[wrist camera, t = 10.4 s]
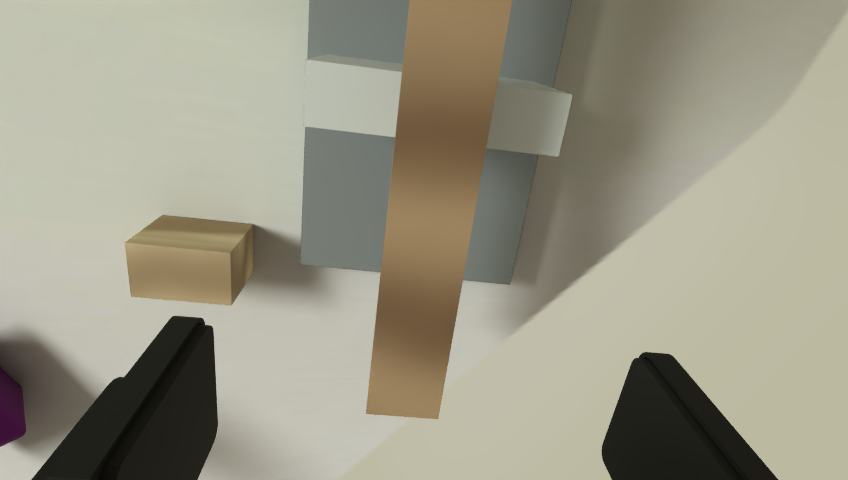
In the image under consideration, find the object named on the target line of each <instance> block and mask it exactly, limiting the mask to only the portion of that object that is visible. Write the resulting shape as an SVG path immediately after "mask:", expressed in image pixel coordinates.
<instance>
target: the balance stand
mask: <svg viewBox="0 0 848 480" xmlns="http://www.w3.org/2000/svg"><path fill="white" fill-rule="evenodd" d="M409 1H410V0H310V2H309V31H308V59H306V67H305V97H304V126H305V147H304V176H303V205H302V234H301V262H300V264H301V265H311V266H322V267H332V268H342V269H353V270H363V271H374V272H381V266H382V256H383V247H384V237H385V228H386V219H387V209H388V200H389V190H390V181H391V171H392V162H393V152H394V143H395V134H396V124H397V115H398V105H399V96H400V86H401V77H402V67H403V58H404V49H405V39H406V30H407V20H408V11H409ZM571 2H572V0H512V6H511V11H510V17H509V22H508V28H507V34H506V39H505V45H504V51H503V56H502V62H501V67H500V73H499V79H498V84H497V90H496V96H495V101H494V107H493V112H492V118H491V124H490V129H489V135H488V141H487V146H486V152H485V158H484V163H483V169H482V174H481V180H480V186H479V191H478V197H477V203H476V208H475V214H474V219H473V225H472V231H471V236H470V242H469V248H468V253H467V259H466V264H465V270H464V276H463V280H467V281H477V282H488V283H498V284H508V285H510V282H511V277H512V273H513V268H514V264H515V259H516V254H517V250H518V245H519V241H520V236H521V231H522V227H523V222H524V218H525V213H526V208H527V204H528V199H529V195H530V190H531V185H532V181H533V176H534V172H535V167H536V163H537V158H538V154H539V155H547V156H555V157H559V153H560V148H561V144H562V140H563V136H564V131H565V127H566V123H567V118H568V114H569V110H570V106H571V101H572V97H573V94H570V93H567V92H564V91H561V90H558V89H555V88H553V84H554V80H555V75H556V71H557V66H558V61H559V57H560V52H561V48H562V43H563V38H564V34H565V29H566V25H567V20H568V16H569V11H570V6H571Z"/></svg>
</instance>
